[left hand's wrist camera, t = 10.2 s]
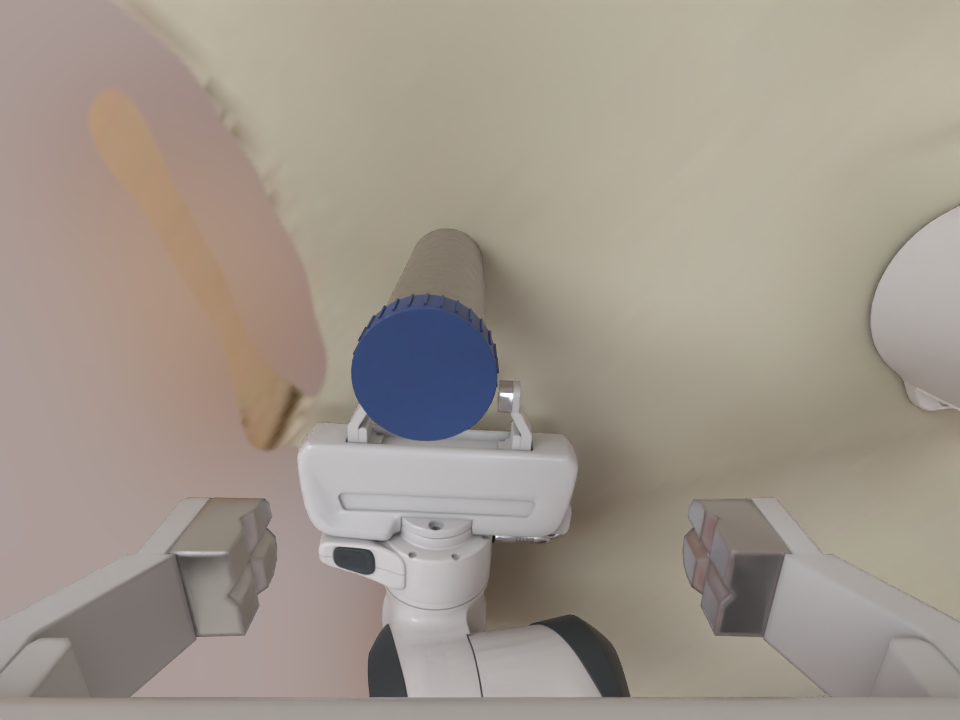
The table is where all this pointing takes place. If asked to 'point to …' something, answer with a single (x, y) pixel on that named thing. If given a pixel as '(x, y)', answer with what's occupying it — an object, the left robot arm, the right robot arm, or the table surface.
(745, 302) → the table surface
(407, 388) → the lid
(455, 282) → the jar
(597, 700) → the left robot arm
